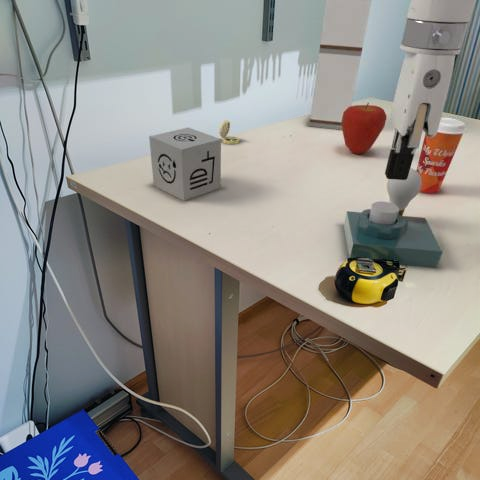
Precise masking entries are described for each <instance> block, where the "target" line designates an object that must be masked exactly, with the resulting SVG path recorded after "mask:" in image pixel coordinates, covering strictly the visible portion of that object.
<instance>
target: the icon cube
mask: <svg viewBox="0 0 480 480" xmlns="http://www.w3.org/2000/svg"><path fill="white" fill-rule="evenodd" d="M148 138H149V149H150V160H151V171H152V182H153V186H154V187H156V188H157V189H159V190H161V191H163V192H166V193H167V194H169V195H171V196H173V197H176V199H177V198H178V199H179V200H181V201H183V202H186V201H188V200H190V199H194V198H197V197H199V196H202V195H205V194H208V193H211V192H214V191H216V190H220V189H221V188H222V187H221V186H222V184H221V181H222V180H221V179H222V177H221V175H222V174H221V173H222V139H221V138H219V137H216V136H213V135H211V134H208V133H205V132H203V131H200V130H197V129H194V128H191V127H184V128H180V129H175V130H171V131H167V132H162V133H157V134H153V135H149V137H148Z"/></svg>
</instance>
